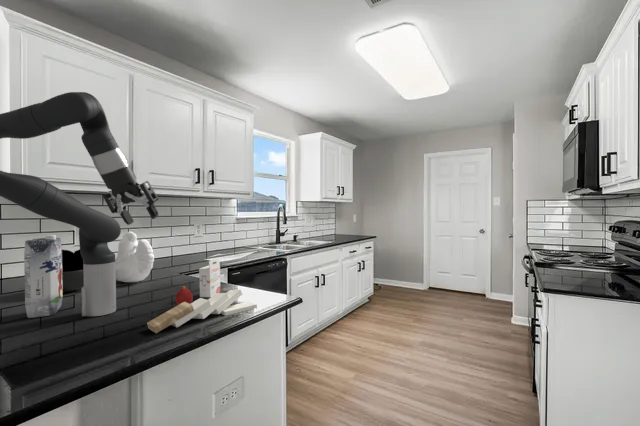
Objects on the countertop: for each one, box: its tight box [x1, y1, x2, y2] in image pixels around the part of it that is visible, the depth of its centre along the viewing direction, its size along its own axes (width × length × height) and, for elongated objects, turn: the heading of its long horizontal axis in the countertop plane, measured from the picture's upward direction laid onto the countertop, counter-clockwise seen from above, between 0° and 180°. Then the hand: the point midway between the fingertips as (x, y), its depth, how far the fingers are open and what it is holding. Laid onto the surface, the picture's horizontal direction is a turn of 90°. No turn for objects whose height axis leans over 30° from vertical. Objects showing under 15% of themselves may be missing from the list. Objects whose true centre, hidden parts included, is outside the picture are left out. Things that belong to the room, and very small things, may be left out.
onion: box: [174, 285, 194, 306], centre depth 119 cm, size 6×6×8 cm
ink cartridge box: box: [198, 258, 221, 299], centre depth 138 cm, size 9×5×15 cm, turn 168°
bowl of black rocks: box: [62, 248, 84, 293], centre depth 146 cm, size 20×20×19 cm
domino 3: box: [209, 289, 243, 315], centre depth 116 cm, size 2×5×12 cm
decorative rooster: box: [115, 231, 155, 283], centre depth 164 cm, size 25×16×25 cm, turn 49°
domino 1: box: [170, 297, 211, 328], centre depth 105 cm, size 2×5×12 cm
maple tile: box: [146, 302, 194, 334], centre depth 100 cm, size 2×5×12 cm
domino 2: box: [192, 292, 229, 320], centre depth 111 cm, size 2×5×12 cm
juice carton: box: [23, 234, 64, 319], centre depth 114 cm, size 9×10×27 cm
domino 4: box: [220, 301, 258, 317], centre depth 116 cm, size 2×5×12 cm
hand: (143, 220), depth 96 cm, fingers open, 8 cm apart
